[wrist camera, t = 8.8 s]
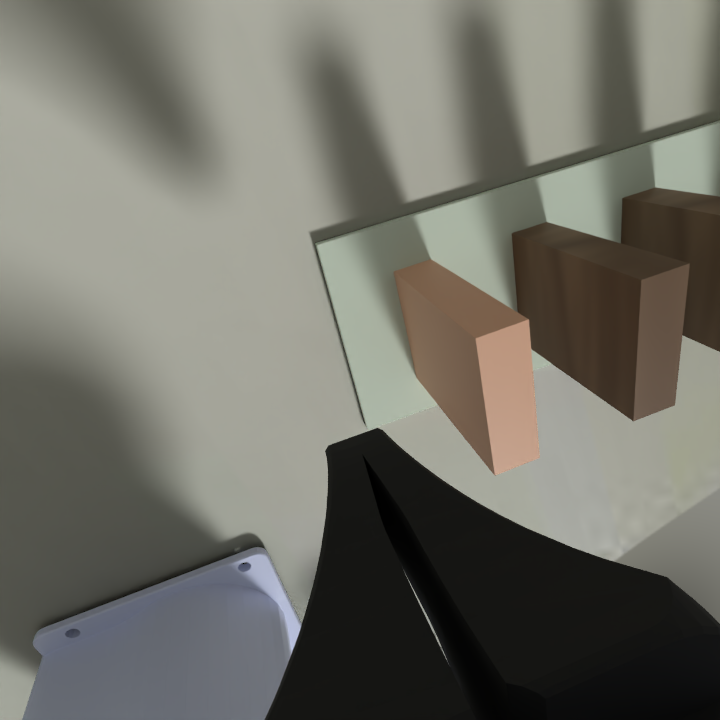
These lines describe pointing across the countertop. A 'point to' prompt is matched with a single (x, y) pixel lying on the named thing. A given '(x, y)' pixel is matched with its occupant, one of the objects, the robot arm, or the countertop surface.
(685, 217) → the domino
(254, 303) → the countertop surface
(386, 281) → the sage mat
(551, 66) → the countertop surface
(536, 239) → the domino
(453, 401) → the terracotta domino
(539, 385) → the countertop surface
